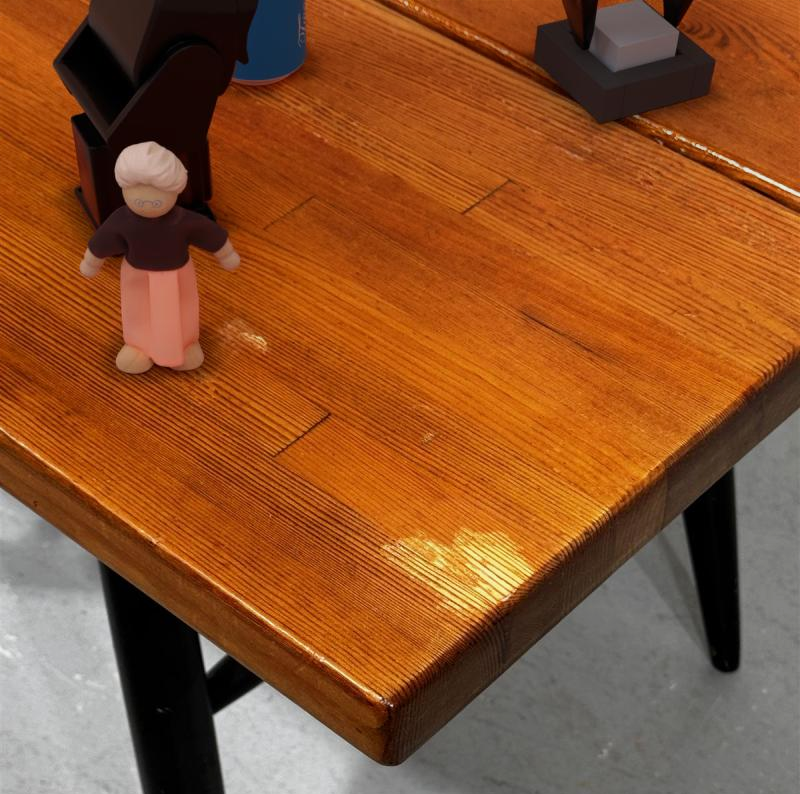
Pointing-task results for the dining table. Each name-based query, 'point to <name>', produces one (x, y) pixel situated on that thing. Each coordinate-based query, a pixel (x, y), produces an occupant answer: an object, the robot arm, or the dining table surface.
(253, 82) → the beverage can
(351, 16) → the dining table surface
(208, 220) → the grandmother figurine
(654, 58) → the light grey cube
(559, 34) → the dark grey square frame
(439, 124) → the dining table surface
